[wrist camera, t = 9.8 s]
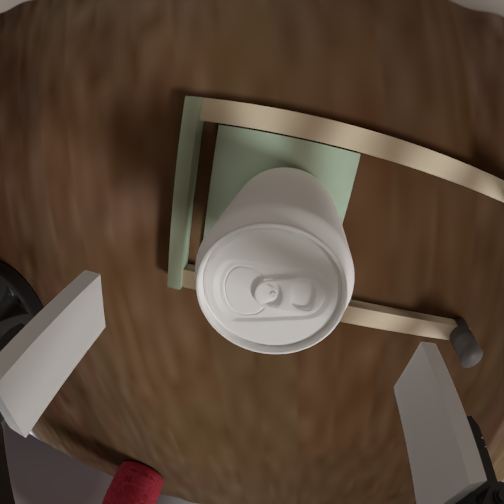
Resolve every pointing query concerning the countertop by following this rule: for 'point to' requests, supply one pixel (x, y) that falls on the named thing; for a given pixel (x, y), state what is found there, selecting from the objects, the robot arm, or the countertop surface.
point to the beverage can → (276, 265)
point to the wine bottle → (134, 485)
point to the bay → (319, 165)
